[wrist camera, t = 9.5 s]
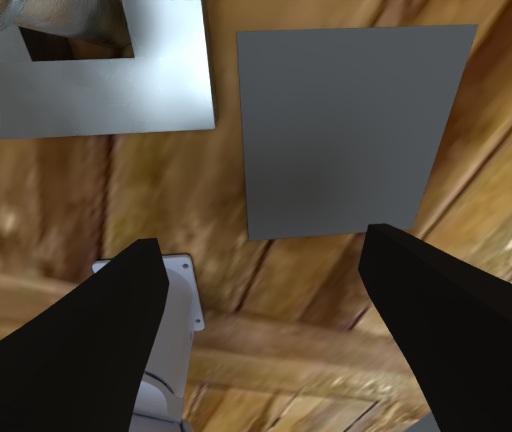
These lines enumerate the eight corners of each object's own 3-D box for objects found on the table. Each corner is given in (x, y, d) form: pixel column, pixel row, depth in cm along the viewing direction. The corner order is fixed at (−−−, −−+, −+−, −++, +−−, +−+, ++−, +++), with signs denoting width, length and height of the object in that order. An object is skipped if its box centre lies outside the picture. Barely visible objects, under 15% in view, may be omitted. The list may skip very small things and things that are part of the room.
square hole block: (218, 118, 16) (215, 128, 13) (42, 127, 16) (-5, 139, 13) (190, -152, 11) (174, -242, 8) (-82, -154, 10) (-216, -253, 7)
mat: (409, 226, 22) (412, 228, 21) (248, 238, 21) (248, 240, 21) (472, 25, 15) (478, 24, 14) (236, 32, 14) (236, 31, 14)
